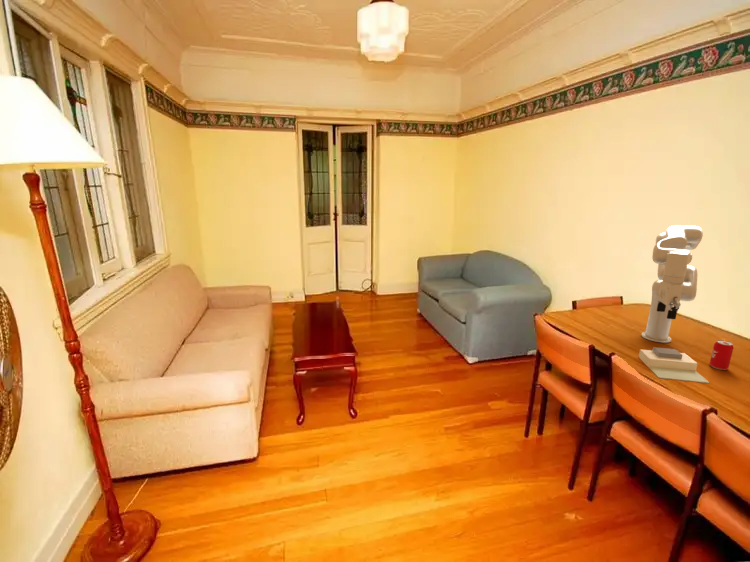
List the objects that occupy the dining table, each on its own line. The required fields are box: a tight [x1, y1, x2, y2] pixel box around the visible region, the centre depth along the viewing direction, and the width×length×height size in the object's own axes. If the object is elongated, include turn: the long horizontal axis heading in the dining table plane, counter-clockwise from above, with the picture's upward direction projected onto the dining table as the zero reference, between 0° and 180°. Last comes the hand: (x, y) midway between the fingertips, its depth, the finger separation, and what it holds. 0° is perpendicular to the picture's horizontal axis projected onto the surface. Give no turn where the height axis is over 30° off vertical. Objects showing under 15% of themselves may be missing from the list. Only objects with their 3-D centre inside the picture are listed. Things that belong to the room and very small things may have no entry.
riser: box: [638, 349, 698, 372], centre depth 167 cm, size 10×18×4 cm, turn 76°
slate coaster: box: [652, 347, 682, 359], centre depth 167 cm, size 6×9×2 cm, turn 76°
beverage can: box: [709, 339, 734, 371], centre depth 163 cm, size 6×6×12 cm
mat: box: [647, 366, 710, 384], centre depth 158 cm, size 10×18×1 cm, turn 76°
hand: (665, 315), depth 171 cm, fingers open, 9 cm apart
